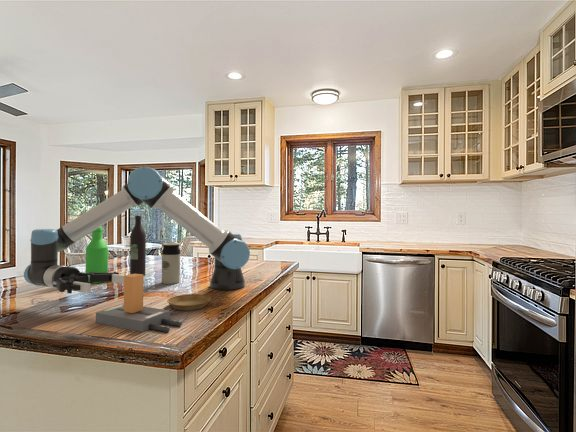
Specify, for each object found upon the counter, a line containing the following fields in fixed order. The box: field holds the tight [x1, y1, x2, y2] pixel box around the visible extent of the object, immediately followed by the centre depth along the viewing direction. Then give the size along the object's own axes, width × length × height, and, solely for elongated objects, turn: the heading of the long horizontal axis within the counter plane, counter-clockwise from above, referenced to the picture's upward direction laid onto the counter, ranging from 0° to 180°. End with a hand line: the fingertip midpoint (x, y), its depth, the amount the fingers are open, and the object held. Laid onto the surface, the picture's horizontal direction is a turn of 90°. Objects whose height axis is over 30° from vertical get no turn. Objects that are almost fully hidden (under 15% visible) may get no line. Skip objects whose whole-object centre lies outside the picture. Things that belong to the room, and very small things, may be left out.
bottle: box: [85, 226, 109, 284], centre depth 156 cm, size 9×9×25 cm
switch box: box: [95, 303, 183, 333], centre depth 102 cm, size 25×11×3 cm, turn 68°
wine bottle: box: [129, 215, 147, 277], centre depth 171 cm, size 7×7×30 cm
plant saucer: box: [166, 293, 212, 311], centre depth 121 cm, size 15×15×3 cm
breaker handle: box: [123, 273, 144, 313], centre depth 103 cm, size 4×4×11 cm
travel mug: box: [161, 242, 181, 285], centre depth 158 cm, size 8×8×18 cm
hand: (109, 284), depth 107 cm, fingers open, 13 cm apart
